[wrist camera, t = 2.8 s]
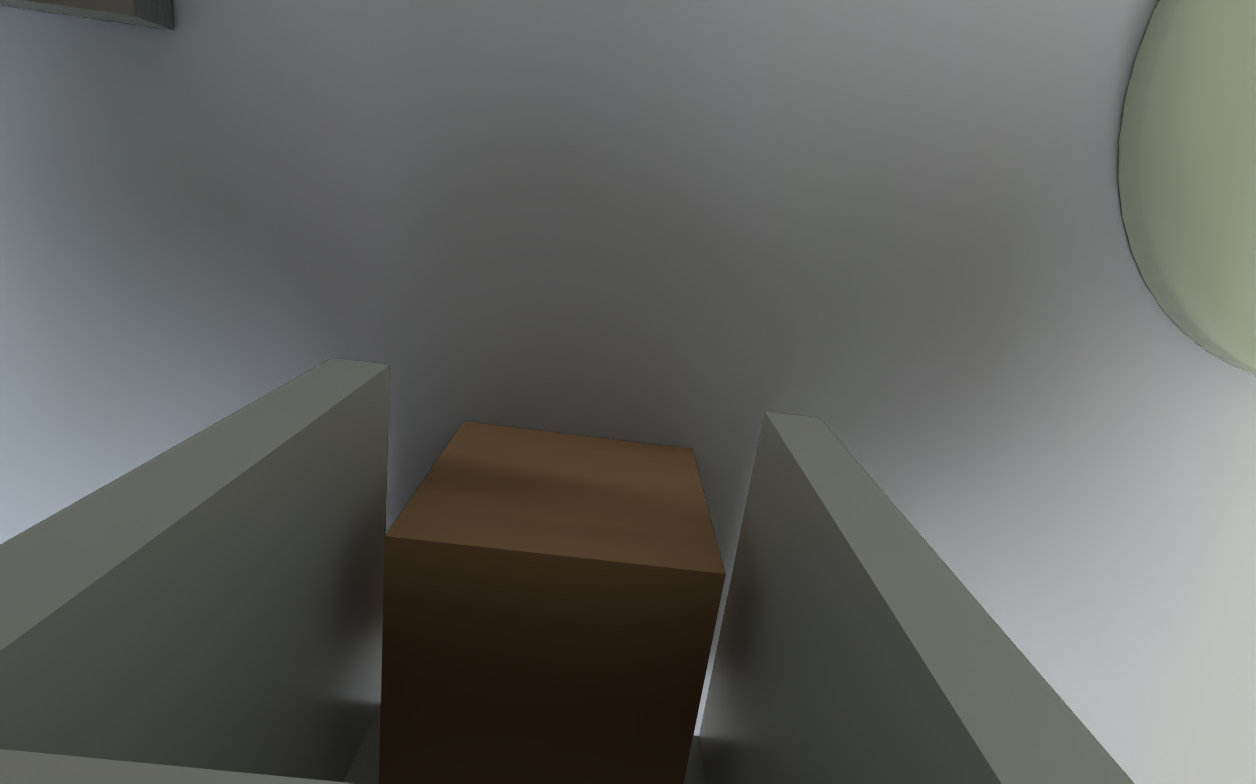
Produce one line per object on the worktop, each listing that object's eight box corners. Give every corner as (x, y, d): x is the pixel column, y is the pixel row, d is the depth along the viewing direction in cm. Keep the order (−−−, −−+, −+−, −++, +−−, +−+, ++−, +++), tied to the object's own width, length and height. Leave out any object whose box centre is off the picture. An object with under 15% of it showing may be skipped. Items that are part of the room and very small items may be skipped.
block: (659, 636, 13) (674, 828, 9) (452, 615, 13) (378, 800, 9) (691, 446, 12) (725, 574, 8) (464, 420, 11) (383, 536, 8)
